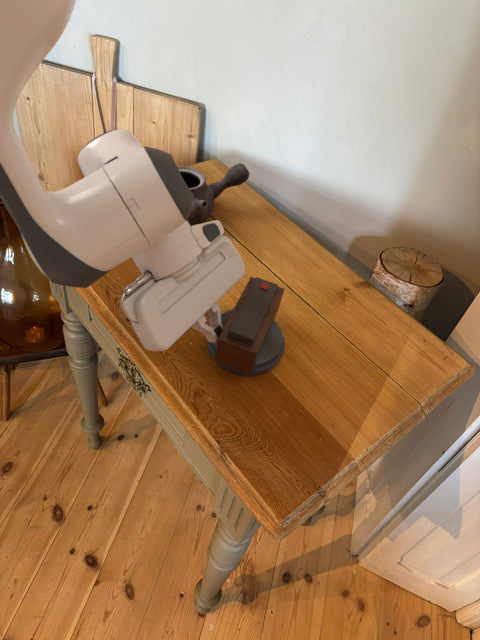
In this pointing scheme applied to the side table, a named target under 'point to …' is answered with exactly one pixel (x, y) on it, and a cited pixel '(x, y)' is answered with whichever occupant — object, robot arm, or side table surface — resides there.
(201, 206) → the teapot
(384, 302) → the side table surface
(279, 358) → the turntable base
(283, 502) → the side table surface
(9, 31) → the robot arm
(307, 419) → the side table surface
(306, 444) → the side table surface
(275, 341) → the remote caddy
